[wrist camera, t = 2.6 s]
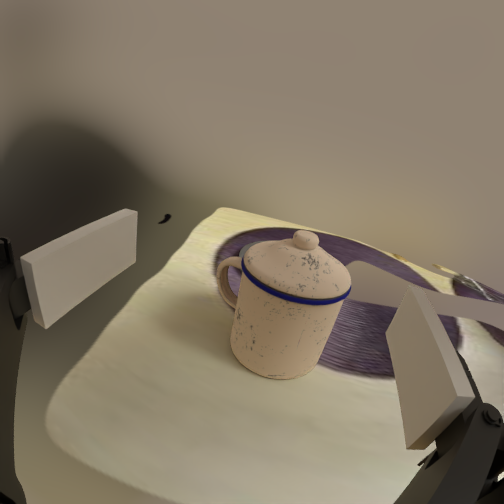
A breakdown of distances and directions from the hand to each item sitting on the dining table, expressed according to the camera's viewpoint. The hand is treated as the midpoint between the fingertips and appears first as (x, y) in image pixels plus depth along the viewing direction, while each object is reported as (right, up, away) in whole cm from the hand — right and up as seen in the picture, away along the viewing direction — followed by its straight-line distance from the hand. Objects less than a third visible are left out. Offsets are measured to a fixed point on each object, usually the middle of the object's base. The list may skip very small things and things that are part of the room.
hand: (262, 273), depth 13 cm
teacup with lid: (0, -8, +15) cm, 16 cm away
